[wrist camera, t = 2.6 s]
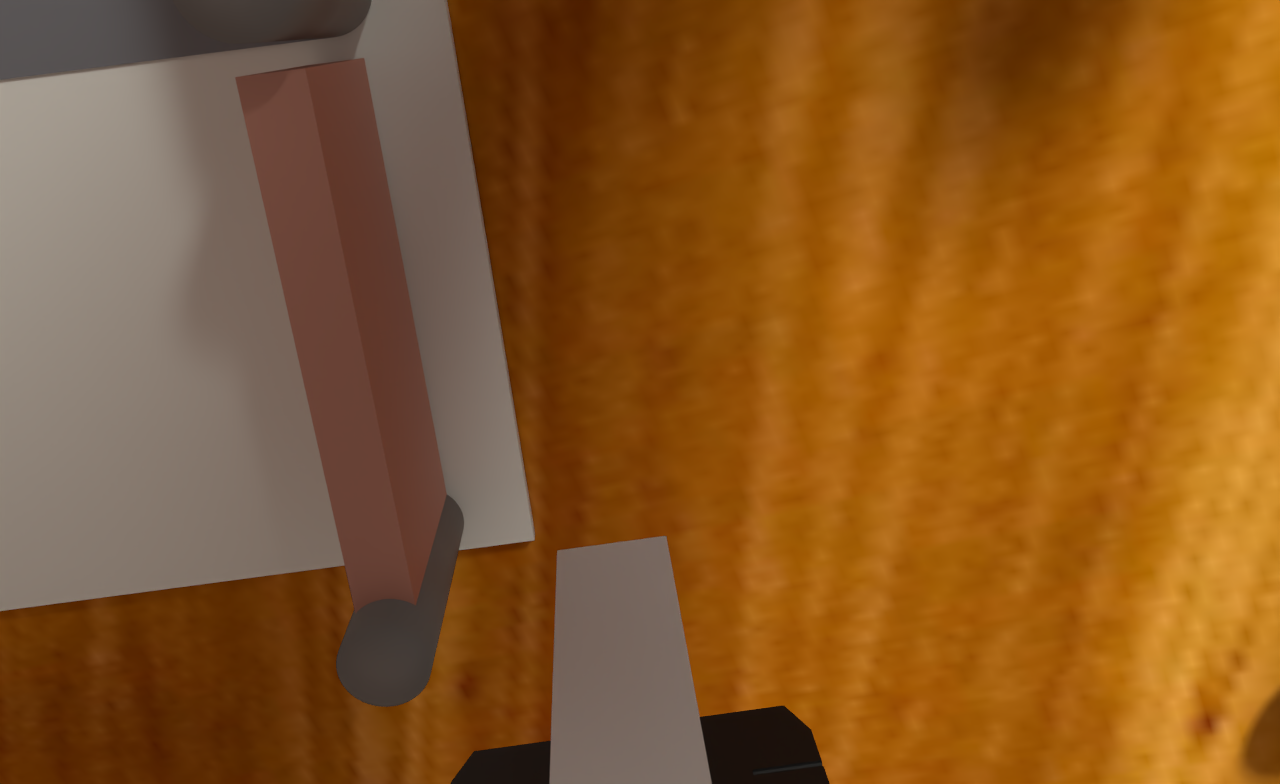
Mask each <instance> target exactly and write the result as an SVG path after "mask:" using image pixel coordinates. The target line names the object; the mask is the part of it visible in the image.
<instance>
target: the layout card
mask: <svg viewBox="0 0 1280 784" xmlns="http://www.w3.org/2000/svg"><path fill="white" fill-rule="evenodd" d="M360 58H364V60H365V65H366V70H367V76H368V81H369V86H370V91H371V97H372V102H373V107H374V113H375V118H376V123H377V128H378V134H379V139H380V144H381V149H382V155H383V160H384V165H385V171H386V176H387V181H388V186H389V192H390V197H391V202H392V208H393V213H394V218H395V223H396V229H397V234H398V239H399V245H400V250H401V255H402V260H403V266H404V271H405V276H406V282H407V287H408V292H409V297H410V303H411V308H412V313H413V319H414V324H415V329H416V334H417V340H418V345H419V350H420V355H421V361H422V366H423V371H424V377H425V382H426V387H427V392H428V398H429V403H430V408H431V414H432V419H433V424H434V429H435V435H436V440H437V445H438V451H439V456H440V461H441V466H442V472H443V477H444V482H445V488H446V493H447V495H449V496H450V497H451V498H453V499H454V500H455V501H456V503H457V504H458V505H459V507H460V509H461V511H462V513H463V517H464V529H463V534H462V538H461V542H460V547H459V550H466V549H473V548H481V547H488V546H496V545H503V544H511V543H518V542H526V541H534V540H535V530H534V524H533V518H532V512H531V506H530V500H529V494H528V488H527V482H526V475H525V469H524V463H523V457H522V451H521V445H520V439H519V433H518V427H517V421H516V415H515V409H514V403H513V397H512V391H511V385H510V378H509V372H508V366H507V360H506V354H505V348H504V342H503V336H502V330H501V324H500V318H499V312H498V306H497V300H496V294H495V287H494V281H493V275H492V269H491V263H490V257H489V251H488V245H487V239H486V233H485V227H484V221H483V215H482V209H481V203H480V196H479V190H478V184H477V178H476V172H475V166H474V160H473V154H472V148H471V142H470V136H469V130H468V124H467V118H466V112H465V106H464V99H463V93H462V87H461V81H460V75H459V69H458V63H457V57H456V51H455V45H454V39H453V33H452V27H451V21H450V15H449V8H448V2H447V0H372V2H371V6H370V9H369V11H368V14H367V15H366V17H365V19H364V20H363V21H362V23H361V24H360V25H359V26H358V27H357V28H356V29H354V30H353V31H351V32H349V33H347V34H345V35H342V36H338V37H331V38H317V39H303V40H289V41H275V42H260V43H246V44H230V43H225V42H220V41H217V40H214V39H212V38H210V37H208V36H206V35H204V34H202V33H201V32H199V31H198V30H196V29H195V28H194V27H193V26H192V25H190V24H189V23H188V22H187V21H186V19H185V18H184V17H183V16H182V15H181V13H180V12H179V11H178V9H177V7H176V6H175V4H174V2H173V0H0V611H4V610H12V609H20V608H27V607H35V606H42V605H50V604H57V603H65V602H73V601H80V600H88V599H95V598H103V597H110V596H118V595H125V594H133V593H141V592H148V591H156V590H163V589H171V588H178V587H186V586H193V585H201V584H209V583H216V582H224V581H231V580H239V579H246V578H254V577H261V576H269V575H277V574H284V573H292V572H299V571H307V570H314V569H322V568H329V567H337V566H345V565H344V560H343V556H342V551H341V547H340V542H339V538H338V533H337V529H336V525H335V520H334V516H333V511H332V507H331V502H330V498H329V493H328V489H327V484H326V480H325V476H324V471H323V467H322V462H321V458H320V453H319V449H318V444H317V440H316V436H315V431H314V427H313V422H312V418H311V413H310V409H309V404H308V400H307V395H306V391H305V387H304V382H303V378H302V373H301V369H300V364H299V360H298V355H297V351H296V346H295V342H294V338H293V333H292V329H291V324H290V320H289V315H288V311H287V306H286V302H285V297H284V293H283V289H282V284H281V280H280V275H279V271H278V266H277V262H276V257H275V253H274V248H273V244H272V240H271V235H270V231H269V226H268V222H267V217H266V213H265V208H264V204H263V200H262V195H261V191H260V186H259V182H258V177H257V173H256V168H255V164H254V159H253V155H252V151H251V146H250V142H249V137H248V133H247V128H246V124H245V119H244V115H243V110H242V106H241V102H240V97H239V93H238V88H237V84H236V79H235V77H240V76H246V75H252V74H258V73H264V72H270V71H276V70H282V69H288V68H294V67H300V66H306V65H313V64H321V63H328V62H336V61H344V60H352V59H360Z"/></svg>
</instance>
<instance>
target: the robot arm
mask: <svg viewBox="0 0 1280 784" xmlns="http://www.w3.org/2000/svg"><path fill="white" fill-rule="evenodd" d="M451 784H829V781H828V778H827V775H826V772H825V769H824V766H822V761H821V758H820V755H819V752H818V749H817V746H816V743H815V740H814V737H813V734H812V731H811V729H810V728H809V727H807V726H806V725H805V724H804V723H803V722H802V721H801V720H800V719H798V718H797V717H796V716H795V715H794V714H793V713H792V712H790V711H789V710H788V709H787V708H786V707H785V706H776V707H769V708H762V709H755V710H747V711H740V712H733V713H726V714H718V715H711V716H704V717H699V712H698V706H697V701H696V695H695V690H694V684H693V679H692V674H691V668H690V663H689V657H688V652H687V646H686V641H685V636H684V630H683V625H682V619H681V614H680V608H679V603H678V598H677V592H676V587H675V581H674V576H673V570H672V565H671V560H670V554H669V549H668V543H667V538H666V536H661V537H654V538H646V539H639V540H631V541H624V542H617V543H609V544H602V545H594V546H587V547H580V548H572V549H565V550H557V572H556V602H555V632H554V662H553V692H552V722H551V741H546V742H539V743H531V744H524V745H517V746H510V747H502V748H495V749H488V750H481V751H474V752H473V753H472V755H471V756H470V757H469V759H468V760H467V762H466V763H465V764H464V766H463V767H462V768H461V770H460V771H459V772H458V774H457V775H456V776H455V778H454V779H453V780H452V782H451Z"/></svg>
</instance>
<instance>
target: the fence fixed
mask: <svg viewBox="0 0 1280 784" xmlns="http://www.w3.org/2000/svg"><path fill="white" fill-rule="evenodd" d="M173 2H174V4H175V6H176V7H177V9H178V11H179V12H180V13H181V15H182V16H183V17H184V18H185V19H186V21H187V22H188V23H189V24H190V25H192V26H193V27H194V28H195V29H196V30H198V31H199V32H201V33H202V34H204V35H206V36H208V37H210V38H212V39H214V40H217V41H220V42H225V43H230V44H246V43H260V42H275V41H289V40H303V39H317V38H331V37H338V36H342V35H345V34H347V33H349V32H351V31H353V30H354V29H356V28H357V27H358V26H359V25H360V24H361V23H362V21H363V20H364V19H365V17H366V15H367V14H368V11H369V9H370V6H371V2H372V0H173Z"/></svg>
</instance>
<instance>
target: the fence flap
mask: <svg viewBox="0 0 1280 784" xmlns="http://www.w3.org/2000/svg"><path fill="white" fill-rule="evenodd" d="M235 79H236V84H237V88H238V93H239V97H240V102H241V106H242V110H243V115H244V119H245V124H246V128H247V133H248V137H249V142H250V146H251V151H252V155H253V159H254V164H255V168H256V173H257V177H258V182H259V186H260V191H261V195H262V200H263V204H264V208H265V213H266V217H267V222H268V226H269V231H270V235H271V240H272V244H273V248H274V253H275V257H276V262H277V266H278V271H279V275H280V280H281V284H282V289H283V293H284V297H285V302H286V306H287V311H288V315H289V320H290V324H291V329H292V333H293V338H294V342H295V346H296V351H297V355H298V360H299V364H300V369H301V373H302V378H303V382H304V387H305V391H306V395H307V400H308V404H309V409H310V413H311V418H312V422H313V427H314V431H315V436H316V440H317V444H318V449H319V453H320V458H321V462H322V467H323V471H324V476H325V480H326V484H327V489H328V493H329V498H330V502H331V507H332V511H333V516H334V520H335V525H336V529H337V533H338V538H339V542H340V547H341V551H342V556H343V560H344V565H345V569H346V574H347V578H348V582H349V587H350V591H351V596H352V600H353V605H354V612H353V615H352V617H351V620H350V622H349V625H348V628H347V630H346V633H345V635H344V638H343V641H342V643H341V646H340V649H339V651H338V655H337V660H336V668H337V673H338V676H339V679H340V681H341V683H342V684H343V686H344V687H345V689H346V690H347V691H348V692H349V693H350V694H351V695H353V696H354V697H355V698H357V699H359V700H361V701H362V702H365V703H367V704H371V705H375V706H384V707H388V706H396V705H400V704H403V703H406V702H408V701H410V700H412V699H413V698H415V697H416V696H417V695H419V694H420V693H421V691H422V690H423V689H424V688H425V686H426V685H427V683H428V680H429V678H430V674H431V670H432V665H433V661H434V656H435V652H436V648H437V643H438V639H439V634H440V630H441V626H442V621H443V617H444V613H445V608H446V604H447V599H448V595H449V591H450V586H451V582H452V577H453V573H454V569H455V564H456V560H457V555H458V551H459V547H460V542H461V538H462V534H463V529H464V517H463V513H462V511H461V509H460V507H459V505H458V504H457V503H456V501H455V500H454V499H453V498H451V497H450V496H449V495H447V493H446V488H445V482H444V477H443V472H442V466H441V461H440V456H439V451H438V445H437V440H436V435H435V429H434V424H433V419H432V414H431V408H430V403H429V398H428V392H427V387H426V382H425V377H424V371H423V366H422V361H421V355H420V350H419V345H418V340H417V334H416V329H415V324H414V319H413V313H412V308H411V303H410V297H409V292H408V287H407V282H406V276H405V271H404V266H403V260H402V255H401V250H400V245H399V239H398V234H397V229H396V223H395V218H394V213H393V208H392V202H391V197H390V192H389V186H388V181H387V176H386V171H385V165H384V160H383V155H382V149H381V144H380V139H379V134H378V128H377V123H376V118H375V113H374V107H373V102H372V97H371V91H370V86H369V81H368V76H367V70H366V65H365V60H364V58H360V59H352V60H344V61H336V62H328V63H321V64H313V65H306V66H300V67H294V68H288V69H282V70H276V71H270V72H264V73H258V74H252V75H246V76H240V77H235Z"/></svg>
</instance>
